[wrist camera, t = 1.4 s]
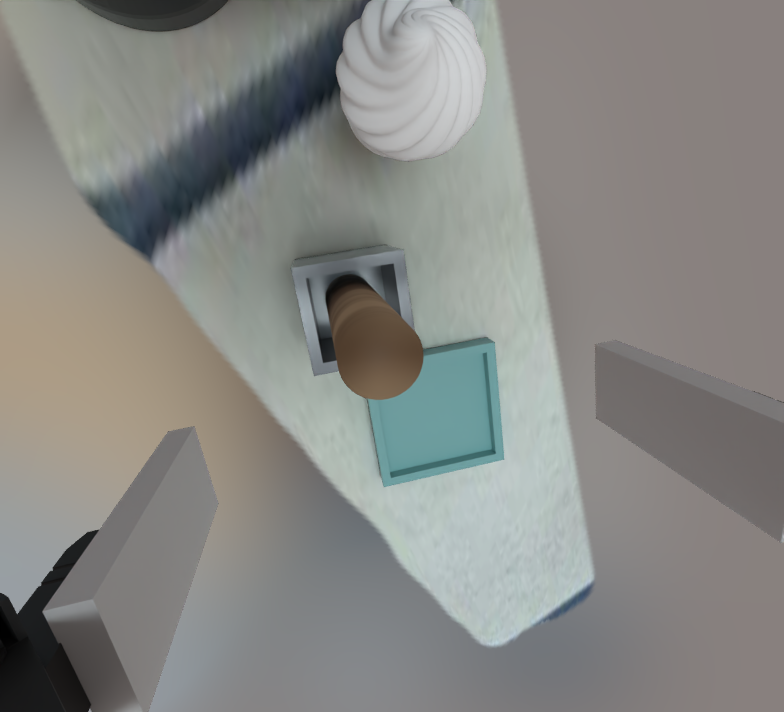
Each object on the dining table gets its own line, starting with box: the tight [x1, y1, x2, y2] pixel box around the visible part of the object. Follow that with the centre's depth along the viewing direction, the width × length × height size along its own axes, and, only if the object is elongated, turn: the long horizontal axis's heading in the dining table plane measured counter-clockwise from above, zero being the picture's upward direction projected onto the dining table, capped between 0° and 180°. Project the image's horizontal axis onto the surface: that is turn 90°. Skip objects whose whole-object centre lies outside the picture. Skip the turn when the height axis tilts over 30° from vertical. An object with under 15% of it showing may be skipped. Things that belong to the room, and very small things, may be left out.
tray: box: [367, 338, 504, 487], centre depth 42 cm, size 12×12×2 cm
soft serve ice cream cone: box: [336, 0, 487, 162], centre depth 28 cm, size 8×8×16 cm
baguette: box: [326, 274, 424, 400], centre depth 29 cm, size 4×4×18 cm
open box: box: [291, 245, 415, 376], centre depth 35 cm, size 8×8×8 cm
